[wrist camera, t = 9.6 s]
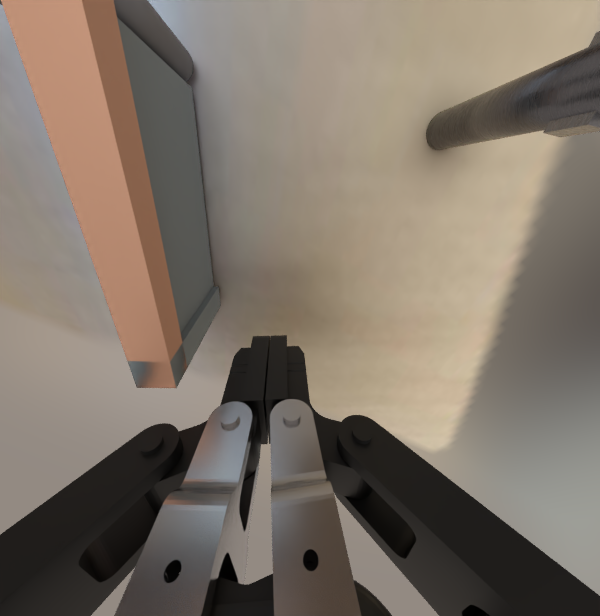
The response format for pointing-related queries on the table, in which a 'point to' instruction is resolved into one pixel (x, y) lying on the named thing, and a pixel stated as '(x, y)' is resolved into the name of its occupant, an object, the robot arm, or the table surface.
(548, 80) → the gate frame
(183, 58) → the gate
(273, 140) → the table surface
